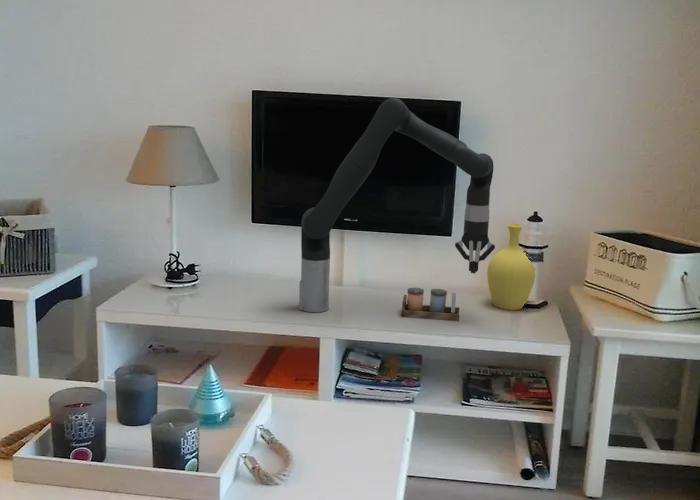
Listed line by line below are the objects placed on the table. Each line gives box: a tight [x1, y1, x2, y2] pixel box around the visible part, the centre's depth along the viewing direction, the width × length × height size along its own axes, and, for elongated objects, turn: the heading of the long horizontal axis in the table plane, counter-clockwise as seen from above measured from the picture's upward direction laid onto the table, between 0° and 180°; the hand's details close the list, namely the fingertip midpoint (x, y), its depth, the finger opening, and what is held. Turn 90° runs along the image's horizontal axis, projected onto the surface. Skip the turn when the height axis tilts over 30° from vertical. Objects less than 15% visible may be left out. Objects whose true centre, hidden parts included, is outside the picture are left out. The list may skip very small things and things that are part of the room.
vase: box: [486, 223, 536, 311], centre depth 265 cm, size 16×16×28 cm
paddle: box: [450, 292, 457, 314], centre depth 250 cm, size 1×6×7 cm, turn 172°
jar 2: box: [429, 288, 448, 313], centre depth 250 cm, size 5×5×8 cm
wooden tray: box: [401, 294, 460, 322], centre depth 251 cm, size 18×8×6 cm, turn 82°
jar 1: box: [406, 287, 425, 311], centre depth 251 cm, size 5×5×8 cm
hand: (473, 272), depth 246 cm, fingers closed
